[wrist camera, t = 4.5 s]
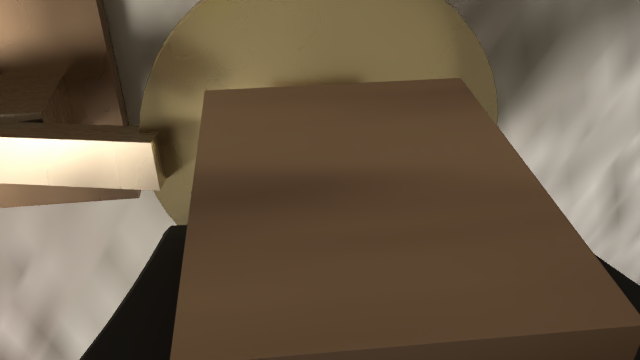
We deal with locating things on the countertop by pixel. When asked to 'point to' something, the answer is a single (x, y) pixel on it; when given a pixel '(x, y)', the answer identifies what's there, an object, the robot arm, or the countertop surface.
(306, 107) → the walnut block
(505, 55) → the countertop surface
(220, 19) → the balance
